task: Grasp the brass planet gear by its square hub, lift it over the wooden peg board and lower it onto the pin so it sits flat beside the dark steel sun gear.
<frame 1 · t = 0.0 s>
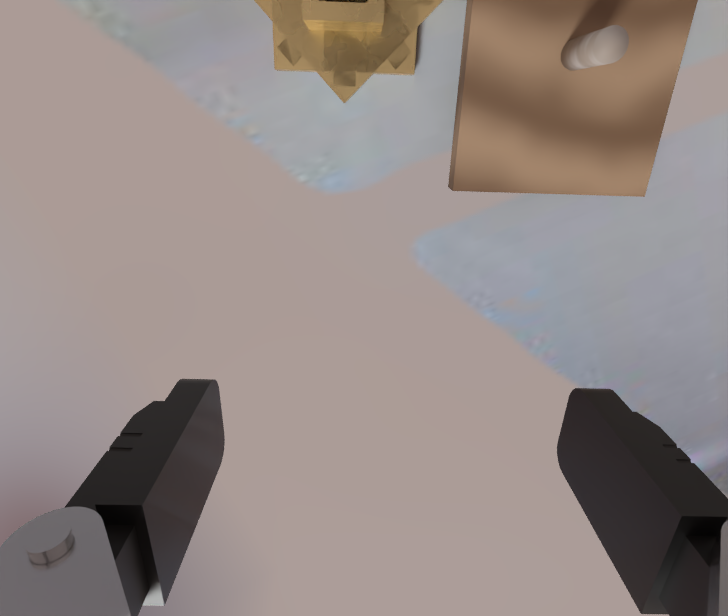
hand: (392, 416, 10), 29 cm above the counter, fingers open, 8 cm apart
wooden peg board: (573, 1, 32), on the counter
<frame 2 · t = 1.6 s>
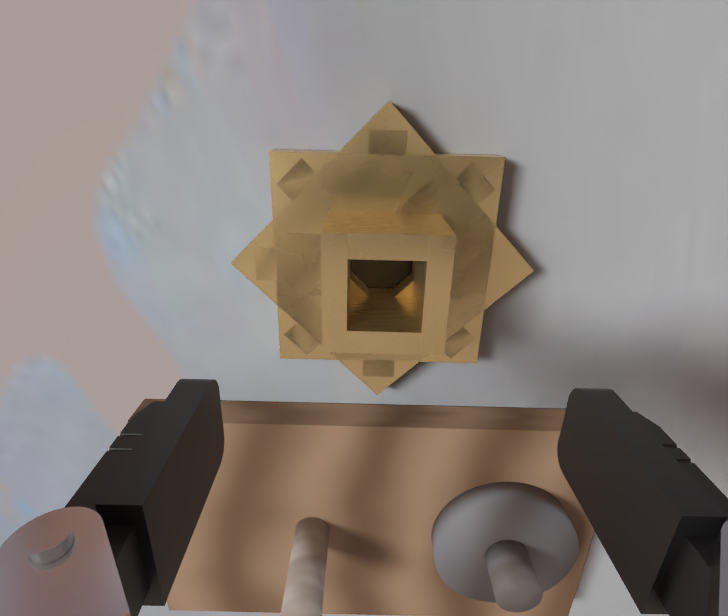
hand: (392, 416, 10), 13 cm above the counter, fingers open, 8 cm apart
wooden peg board: (371, 504, 29), on the counter
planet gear: (381, 259, 22), on the counter
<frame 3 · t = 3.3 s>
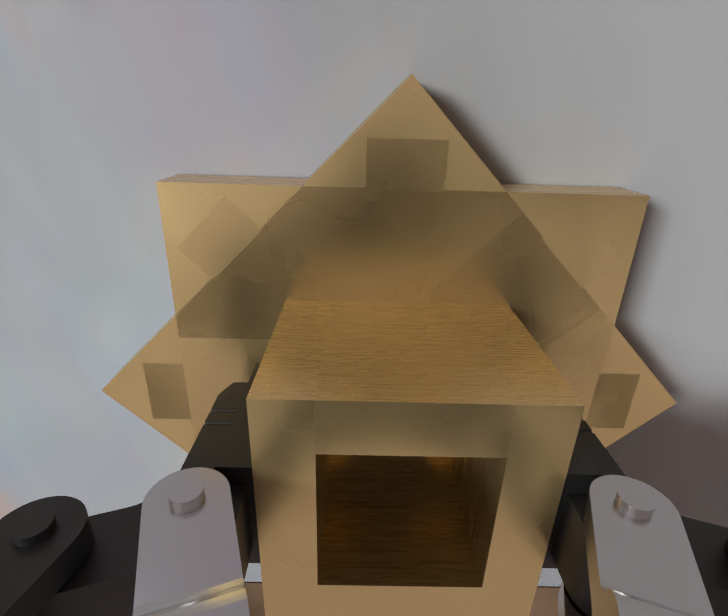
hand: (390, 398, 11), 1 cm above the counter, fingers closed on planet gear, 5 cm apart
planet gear: (389, 371, 12), on the counter, touching gripper
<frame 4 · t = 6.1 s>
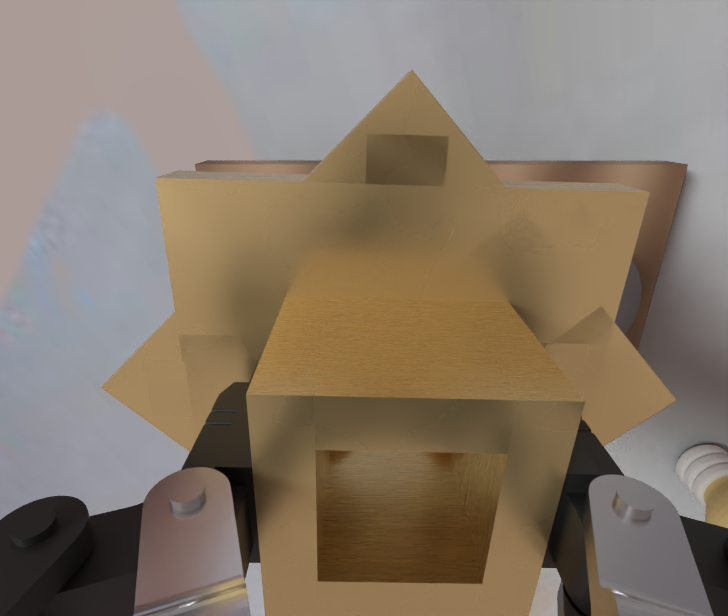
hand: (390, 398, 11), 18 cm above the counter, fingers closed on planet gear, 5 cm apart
light bulb: (694, 457, 35), on the counter
wooden peg board: (428, 284, 29), on the counter
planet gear: (389, 368, 12), point 16 cm above the counter, touching gripper
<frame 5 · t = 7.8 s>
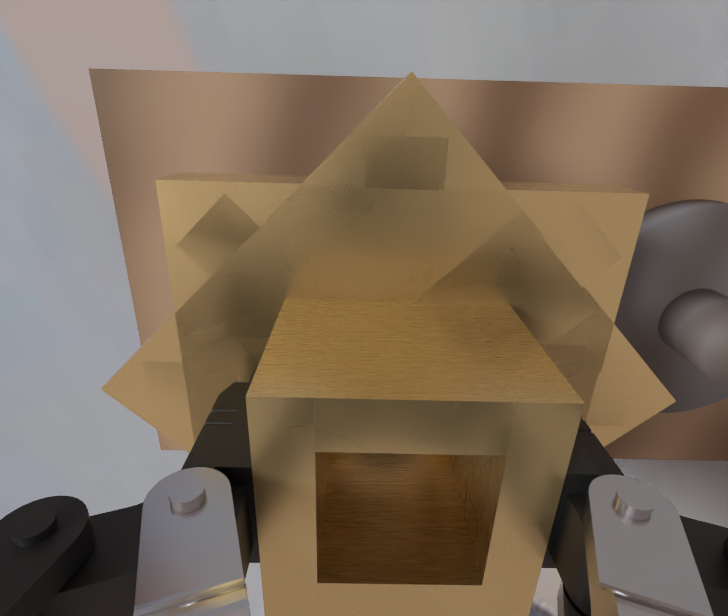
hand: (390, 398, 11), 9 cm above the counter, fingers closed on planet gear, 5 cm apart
wooden peg board: (463, 282, 19), on the counter
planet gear: (388, 369, 12), point 7 cm above the counter, touching gripper
when the fingers open (5 cm above the counter, at t = 9.0 s): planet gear stays where it is, resting on wooden peg board.
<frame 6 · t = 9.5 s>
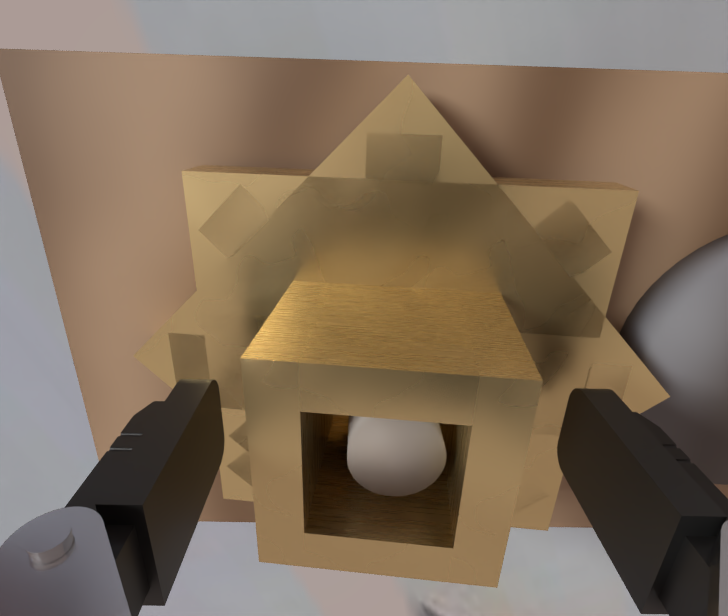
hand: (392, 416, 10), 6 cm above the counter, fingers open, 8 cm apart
wooden peg board: (483, 318, 16), on the counter
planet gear: (391, 353, 13), point 3 cm above the counter, tilted 6°, touching wooden peg board
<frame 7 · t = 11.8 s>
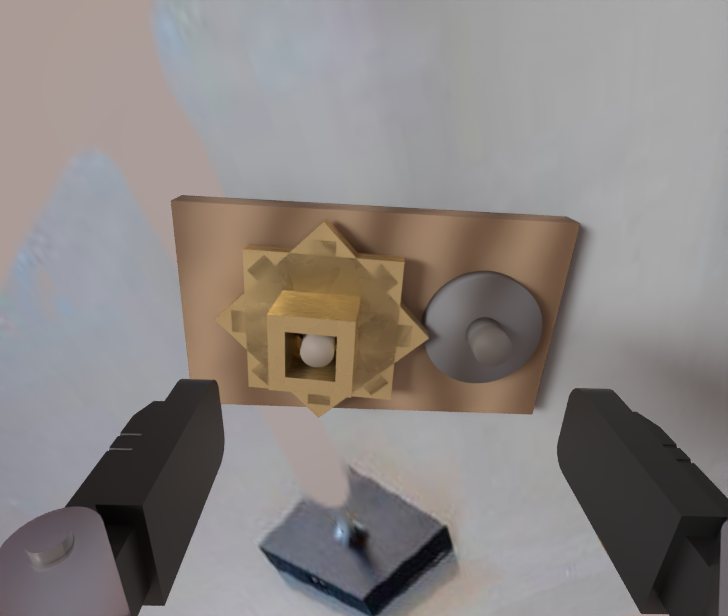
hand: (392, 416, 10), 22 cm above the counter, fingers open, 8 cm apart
wooden peg board: (370, 308, 34), on the counter
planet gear: (323, 321, 31), point 3 cm above the counter, tilted 6°, touching wooden peg board
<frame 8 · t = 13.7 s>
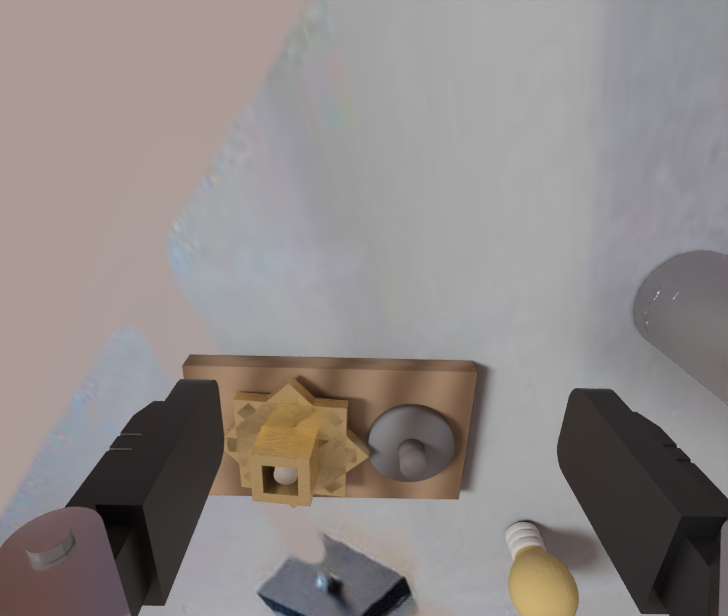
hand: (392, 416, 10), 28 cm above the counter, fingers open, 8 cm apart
light bulb: (519, 528, 51), on the counter
wooden peg board: (331, 424, 45), on the counter
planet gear: (294, 441, 42), point 3 cm above the counter, tilted 6°, touching wooden peg board
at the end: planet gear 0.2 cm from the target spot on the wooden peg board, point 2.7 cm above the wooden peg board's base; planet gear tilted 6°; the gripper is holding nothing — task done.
